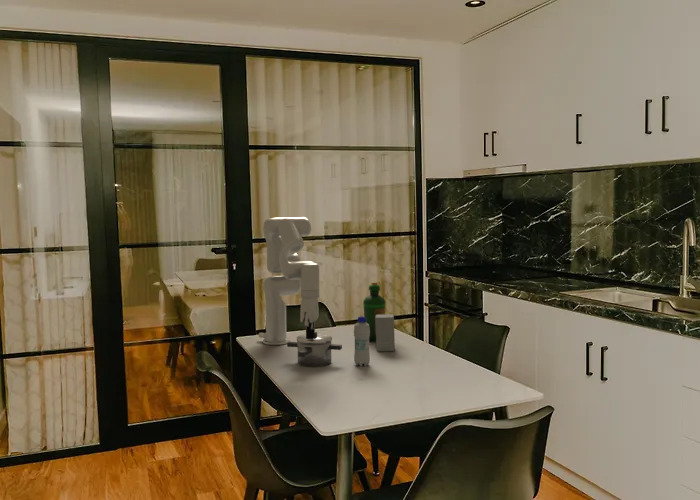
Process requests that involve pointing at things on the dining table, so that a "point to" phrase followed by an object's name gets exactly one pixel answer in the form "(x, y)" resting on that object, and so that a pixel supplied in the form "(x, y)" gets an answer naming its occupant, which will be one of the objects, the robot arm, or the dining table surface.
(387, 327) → the skincare box
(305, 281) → the robot arm
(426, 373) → the dining table surface
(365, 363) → the bottle
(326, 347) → the cooker
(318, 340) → the lid
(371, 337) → the bottle
